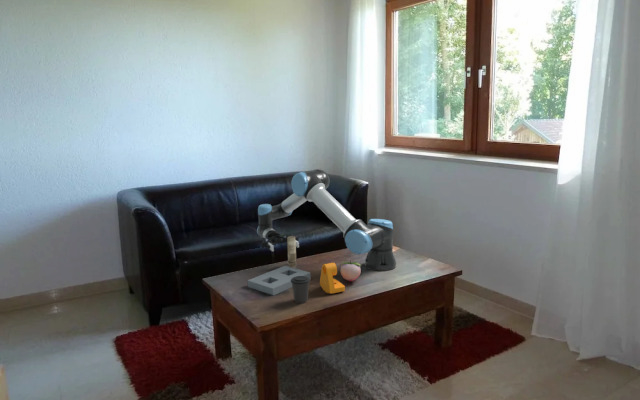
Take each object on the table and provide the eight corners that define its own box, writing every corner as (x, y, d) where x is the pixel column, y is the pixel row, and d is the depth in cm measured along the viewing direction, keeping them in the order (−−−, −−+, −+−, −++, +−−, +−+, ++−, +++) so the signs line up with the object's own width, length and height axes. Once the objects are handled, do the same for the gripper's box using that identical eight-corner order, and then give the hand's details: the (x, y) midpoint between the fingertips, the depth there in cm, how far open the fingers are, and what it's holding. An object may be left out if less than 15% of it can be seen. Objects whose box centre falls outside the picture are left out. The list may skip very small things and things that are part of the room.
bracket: (345, 292, 206) (345, 265, 203) (330, 295, 203) (329, 268, 200) (334, 284, 215) (334, 258, 213) (319, 286, 212) (319, 260, 210)
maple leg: (298, 266, 239) (297, 237, 236) (292, 268, 236) (291, 239, 233) (292, 264, 242) (291, 235, 238) (286, 267, 238) (285, 237, 235)
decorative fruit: (340, 285, 214) (340, 263, 212) (340, 278, 222) (340, 257, 220) (361, 285, 213) (361, 263, 211) (360, 278, 221) (360, 257, 219)
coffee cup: (313, 302, 196) (313, 279, 194) (294, 306, 193) (293, 282, 191) (307, 295, 203) (306, 272, 201) (288, 298, 201) (288, 275, 199)
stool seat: (285, 271, 232) (285, 265, 232) (310, 278, 222) (310, 272, 221) (247, 286, 214) (247, 280, 214) (273, 295, 204) (273, 288, 203)
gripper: (293, 239, 268) (308, 250, 249) (249, 246, 258) (262, 257, 239) (292, 226, 267) (308, 236, 248) (249, 232, 256) (261, 243, 238)
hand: (285, 246), depth 243 cm, fingers open, 13 cm apart
